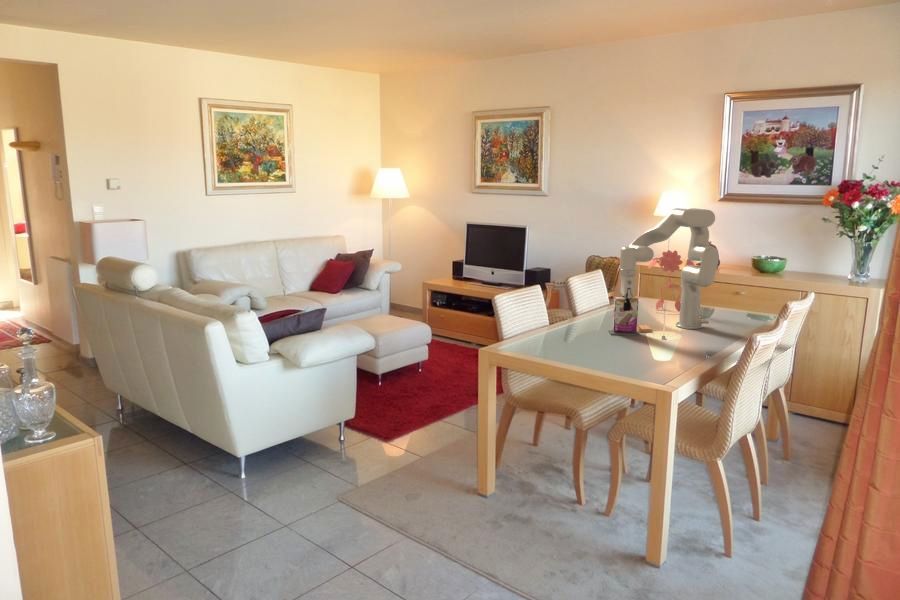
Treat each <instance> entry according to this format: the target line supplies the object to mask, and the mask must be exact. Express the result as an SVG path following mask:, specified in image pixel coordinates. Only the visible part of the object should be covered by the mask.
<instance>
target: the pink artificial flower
mask: <svg viewBox="0 0 900 600" xmlns="http://www.w3.org/2000/svg"><path fill="white" fill-rule="evenodd" d="M661 254H662V256H661V257H659V261H658V258H656V259H652V260H651V262H650V263H649V265H648V268H647V269H648V270H650V269H651V268H653V267H654V266H655V265H656V264H657V263H658V265H659V267H660V268H661V269H662V270H663V272H667V271H670V272H669V273H668V281H669V283H668V285H666V286H663V287H661V289H660V299H658V300H657V302H655V303H656V304H655V309H656V310H658V309H660V308H661V309H663V308H664V307H663V306H664V303H665V300H664V299H663V298H662V292H663V291H662V289H664V288H667V287H668V288H669V289H670V288H674V289H676V290H678V291H679V294H678V298H677V300H676V301H675V302H674V308H675V310H676V311H677V312H678V313H679V314H671V313H670V314H669V313H668V315H670V316H671V315H672V316H680V305H681V300H680V298H681V292H682V290H680V289H679V288H677V287H675V286H674V284H673V283H672V282H671V277H670V274H672V273H674V272H675V271H678V272H681V271H682V269H680V266H681V265H682V264H683V263H684V262H683V260H681V255H679V254H678V250H673V251H671V250H669V249H668V250H667V251H662V253H661ZM688 265H695V262H691V261H690V260H689V259H688V258H687V260H686V263H685V265H684V267H685V266H688ZM651 307H653V306H651ZM655 313H656V314H658V312H657V311H656V312H655ZM660 314H662V315H663V313H662V312H660Z"/></svg>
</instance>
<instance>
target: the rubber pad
mask: <svg viewBox="0 0 900 600" xmlns="http://www.w3.org/2000/svg"><path fill="white" fill-rule="evenodd" d="M608 333H609V334H610V335H611V336H641V334H640V332H639V331H638V330H636V332H626V331H613V329H612V330H611V329H608Z"/></svg>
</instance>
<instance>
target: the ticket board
mask: <svg viewBox="0 0 900 600" xmlns="http://www.w3.org/2000/svg"><path fill="white" fill-rule="evenodd" d="M636 331H638V332H639V333H652V328H651V327H650V326H649V325H648V324H647V325H644V324H640V325H639V324H637V330H636Z"/></svg>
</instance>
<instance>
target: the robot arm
mask: <svg viewBox="0 0 900 600" xmlns="http://www.w3.org/2000/svg"><path fill="white" fill-rule="evenodd" d="M715 221H716V215H715V212H714V211H712V210H710V209H705V208H704V209H703V208H693V207H692V208H688V209H687V208H677V207H676V208H673V209H671V210H670V211H669V212H668V213H667V214H666V215H665V216H664V217H663V219H662V220H660V221H659V222H658V223H657V224H656V225H655V226H654V227H653V228H651V229H649V230H647V231H645V232H643V233H642V234H640V235H639V236H637V237H636V238H635V239H634V240H633V241H632V242H631V243H630V244H629V245H628V246H623V247H621V248H620V257H619V259H620V260H619V276H621V278H620V294H621V297H625V302H624V311H630V309H631V298H634V297H635V277H636V274H637V273H636V271H637V262H639V263H649V262H650V261H652V260H653V258H654V256H655V254H654V250H653V249H652V248H651V247H649V246H651V245H654V244H657V243H661V242H664V241H668V240H669V239H670V237H672V236H673V235H674V234H675V232H676V231H677V230H678V229H679V228H681V227H684V228H689V229H690V233H691V235H690V240H689V241H690V242H689V245H688V246H689V247H688V251H687V259H689V260H690V261H691V262H693V263H694V265H688V266H687V265H686V266H685V265H684V267H683V268H682V269H681V270H682V271H680V281H681V292H680V303H681V305H680V312H679V314H680V315H679V320H678V321H677V322H676V323H675V325H676V327H678V328H681V329H687V330H698V329H699V330H700V329H702V327H703V325H704V324H705V325H706V324H707V325H708V324H709V323H710V320H709V319H704V318H703V319H702V318H700V315H701V313H700V312H701V302H702V301H701V299H702V289H701V288H702V287H703V288H708V287H710V286H711V285H712V284H713V283H714V281H715V279H716V278H715V277H716V275H717V273H716V272H717V270H718V266H719V265H718V264H719V257H720V256H719V255H720V254H719V250H718V249H717V248H715V246H712V245H709V240H710V231H709V227H711V226H712V225H714V223H715ZM695 264H700V265H695ZM626 298H627V299H626Z"/></svg>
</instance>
